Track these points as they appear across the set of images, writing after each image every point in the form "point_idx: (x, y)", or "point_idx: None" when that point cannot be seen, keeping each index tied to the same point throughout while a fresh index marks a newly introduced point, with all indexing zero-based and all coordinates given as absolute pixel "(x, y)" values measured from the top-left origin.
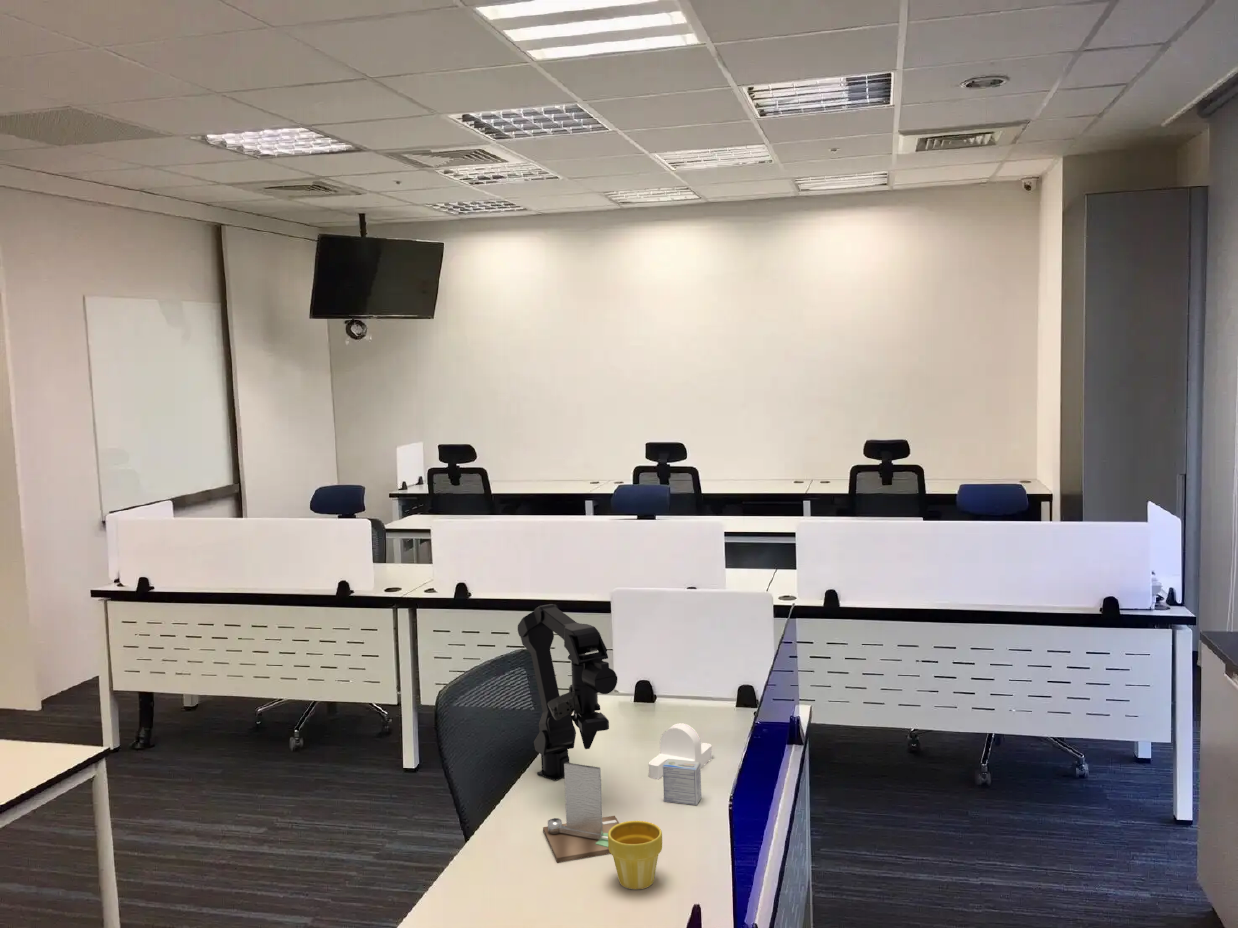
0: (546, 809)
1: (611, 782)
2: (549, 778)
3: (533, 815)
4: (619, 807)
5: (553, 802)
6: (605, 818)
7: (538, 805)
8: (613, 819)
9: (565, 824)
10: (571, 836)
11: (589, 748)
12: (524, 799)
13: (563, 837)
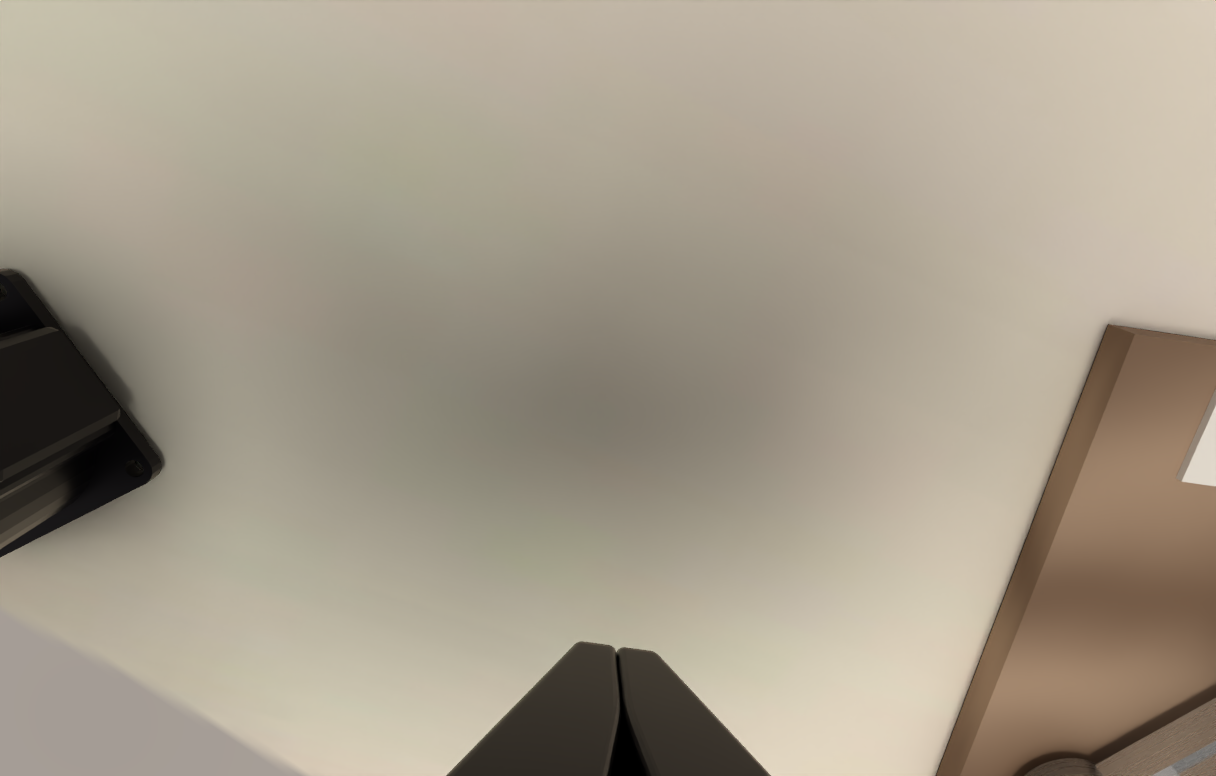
0: None
1: (368, 8)
2: (107, 500)
3: None
4: (922, 182)
5: (544, 608)
6: (1127, 424)
7: None
8: (1193, 374)
9: (1005, 703)
10: None
11: (659, 658)
12: (406, 746)
13: None
